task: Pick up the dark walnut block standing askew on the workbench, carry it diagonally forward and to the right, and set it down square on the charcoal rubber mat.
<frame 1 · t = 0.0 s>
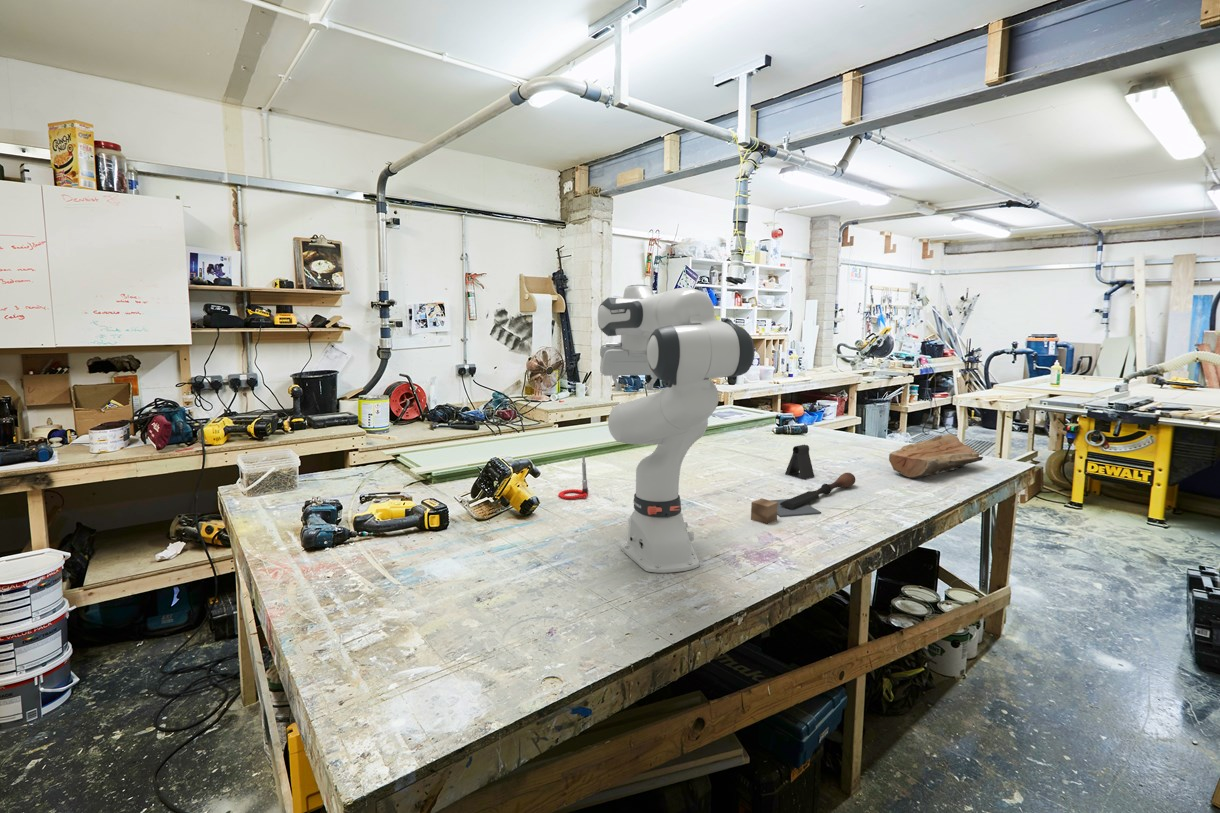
hand: (634, 389, 165), 39 cm above the workbench, fingers open, 8 cm apart
charcoal mat: (788, 507, 180), on the workbench
log: (936, 472, 225), on the workbench
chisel: (820, 496, 192), on the workbench, touching charcoal mat
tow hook: (573, 496, 192), on the workbench
phone stand: (799, 476, 217), on the workbench
walnut block: (763, 520, 170), on the workbench
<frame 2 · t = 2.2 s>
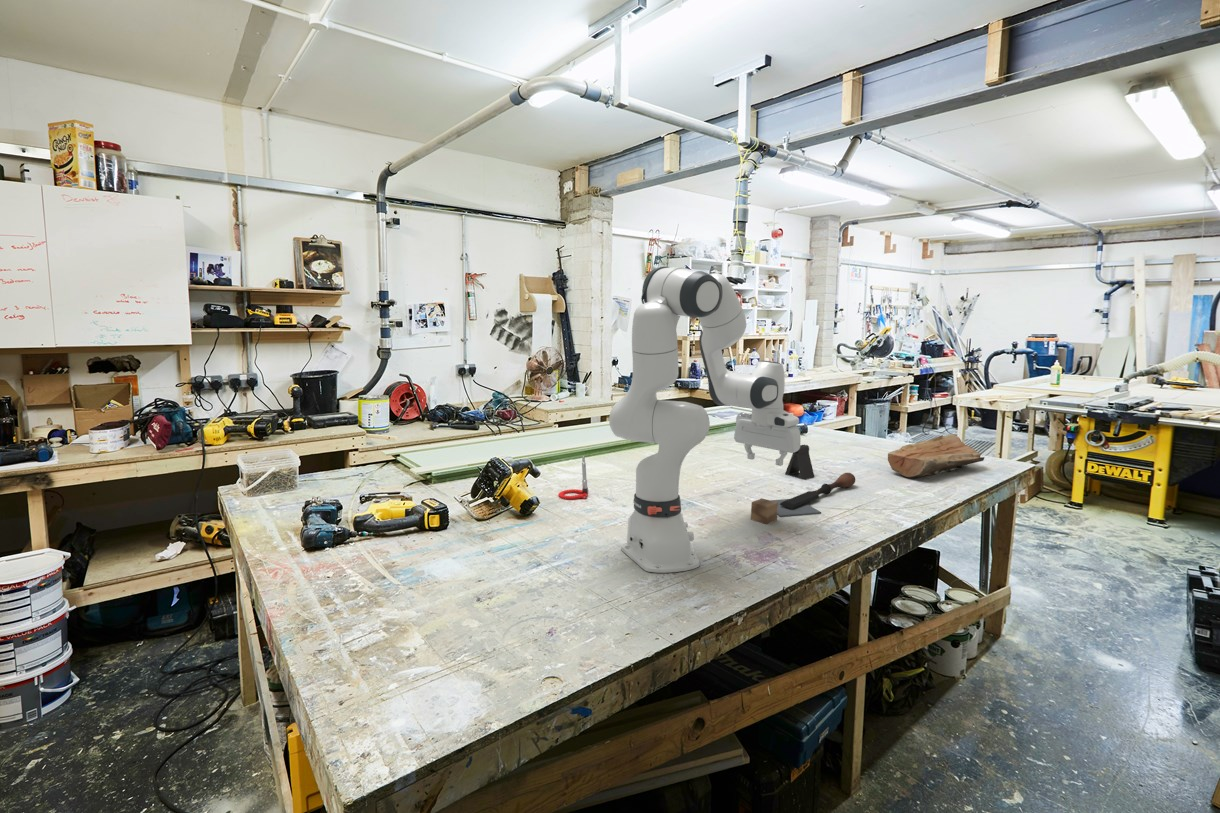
hand: (764, 461, 168), 18 cm above the workbench, fingers open, 8 cm apart
nothing on the workbench moved.
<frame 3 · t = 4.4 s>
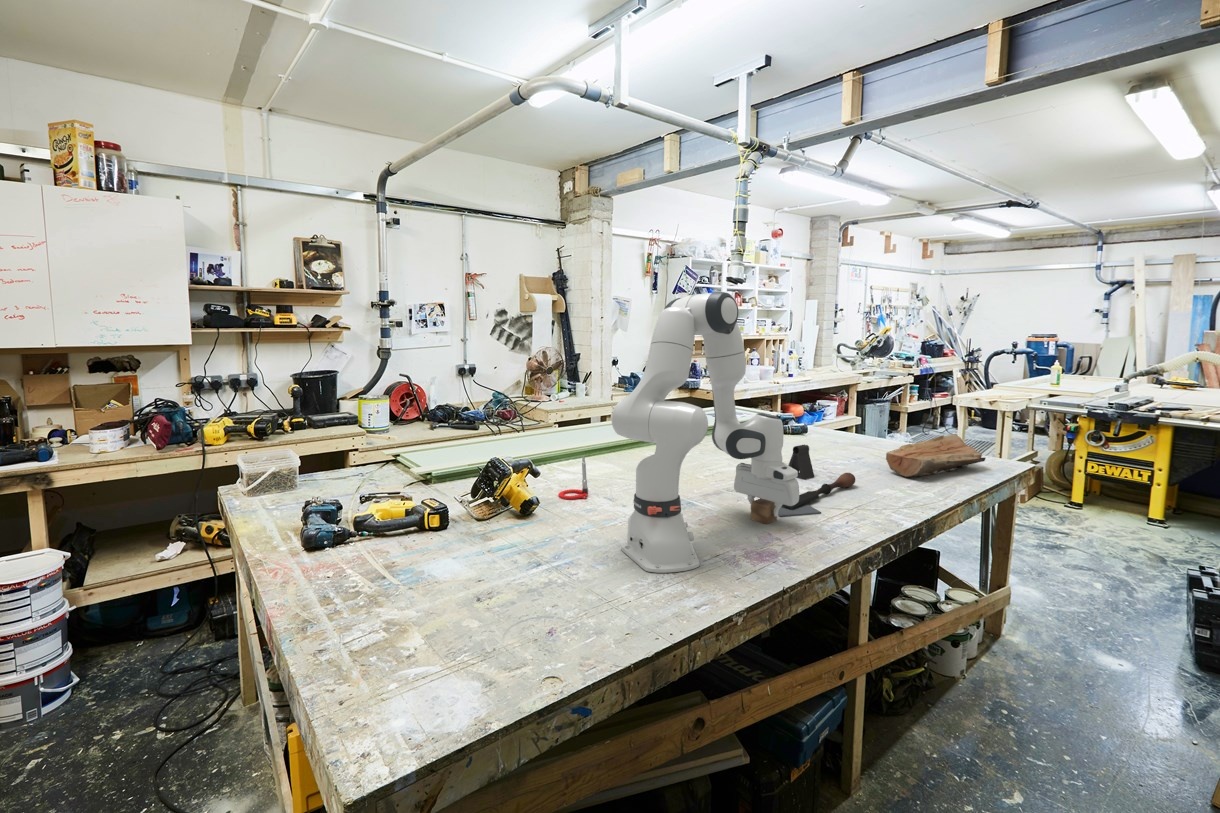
hand: (764, 512, 169), 2 cm above the workbench, fingers closed on walnut block, 5 cm apart
walnut block: (763, 519, 170), on the workbench, touching gripper
everything else where it was.
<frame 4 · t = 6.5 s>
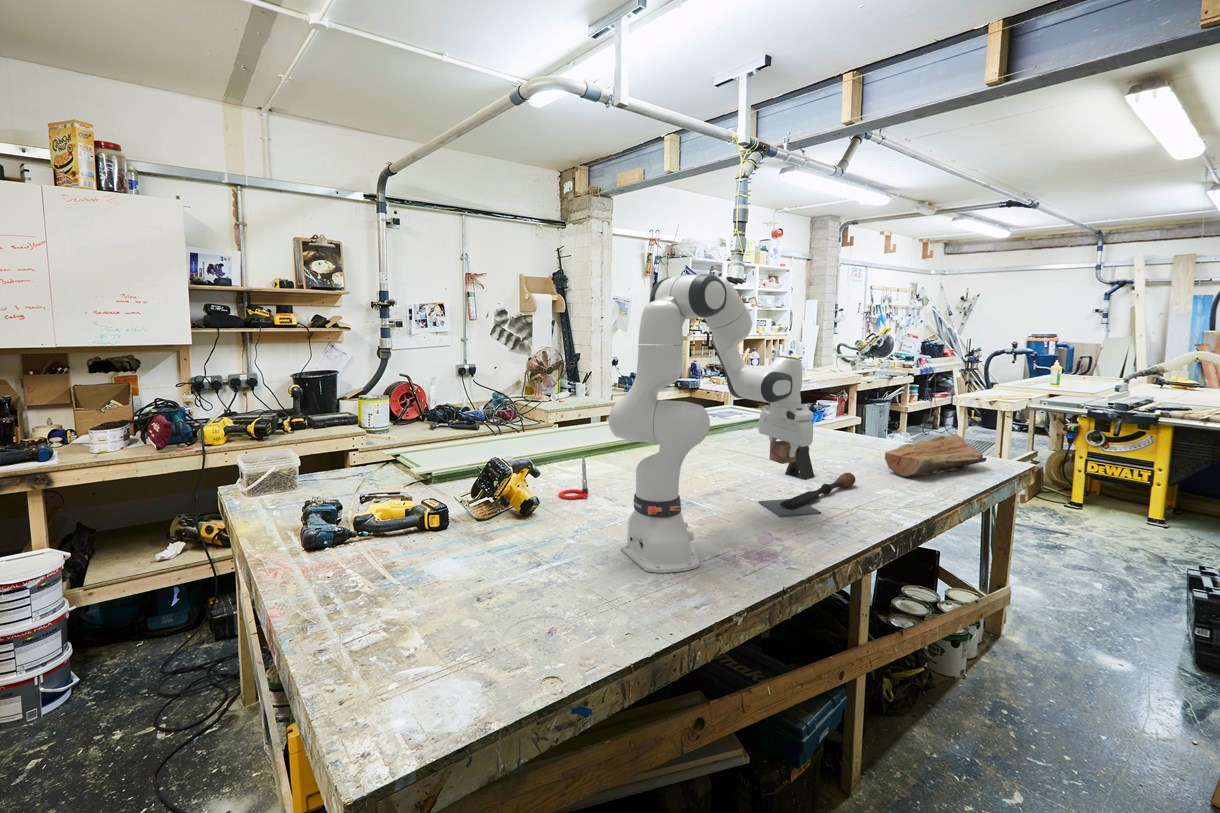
hand: (782, 453, 173), 19 cm above the workbench, fingers closed on walnut block, 5 cm apart
walnut block: (782, 460, 174), point 17 cm above the workbench, touching gripper
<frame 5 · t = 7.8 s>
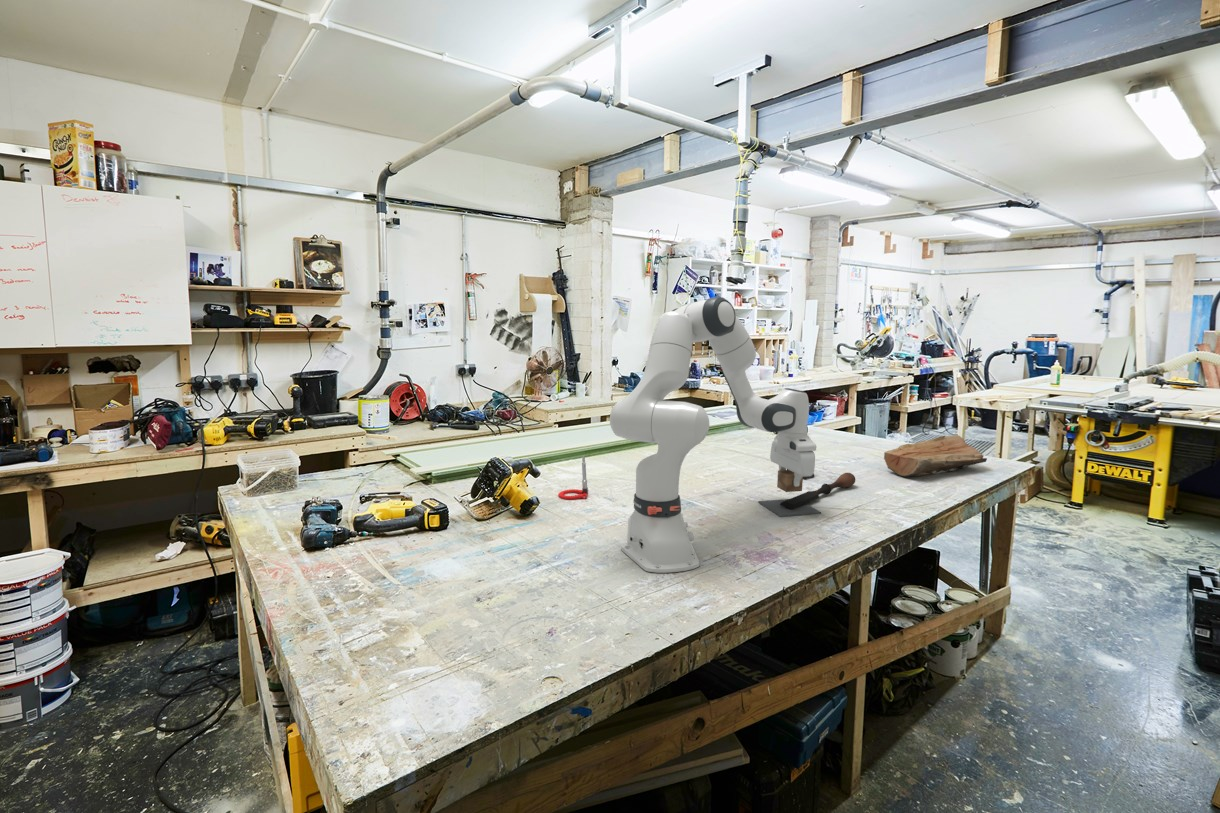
hand: (789, 482, 179), 8 cm above the workbench, fingers closed on walnut block, 5 cm apart
walnut block: (789, 489, 180), point 6 cm above the workbench, touching gripper
when the fingers open (4 cm above the workbench, at t = 9.1 s): walnut block stays where it is, resting on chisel.
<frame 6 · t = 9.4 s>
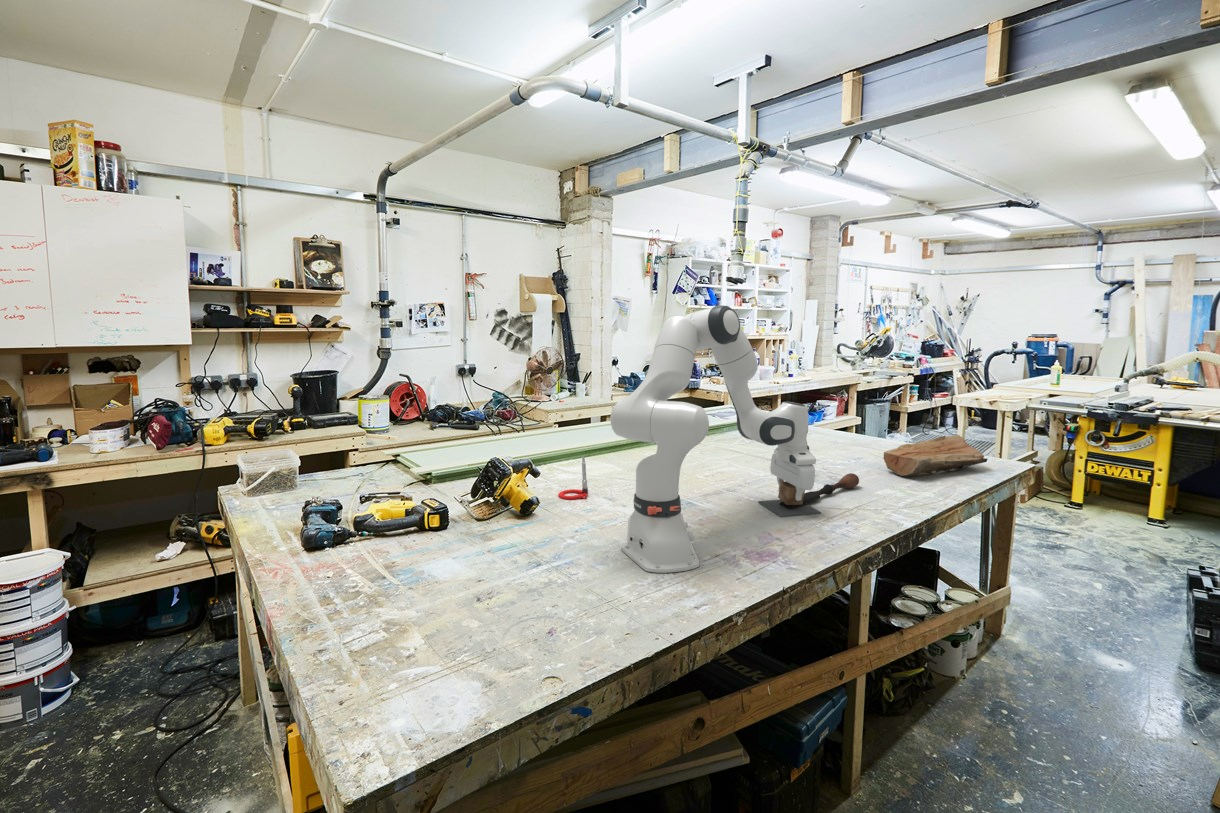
hand: (789, 495, 180), 4 cm above the workbench, fingers open, 8 cm apart
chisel: (822, 496, 191), on the workbench, touching charcoal mat, walnut block
walnut block: (789, 500, 180), point 2 cm above the workbench, tilted 8°, touching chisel
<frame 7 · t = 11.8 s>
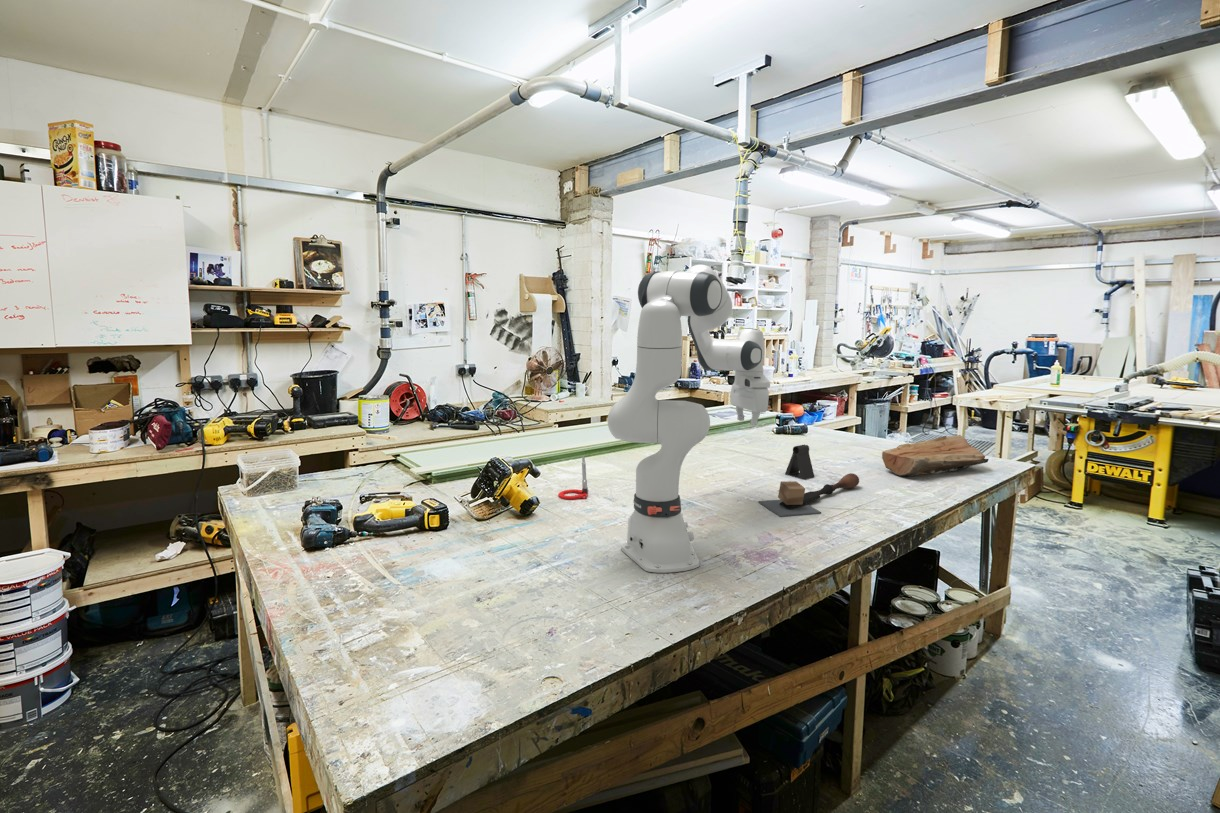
hand: (747, 422, 182), 26 cm above the workbench, fingers open, 8 cm apart
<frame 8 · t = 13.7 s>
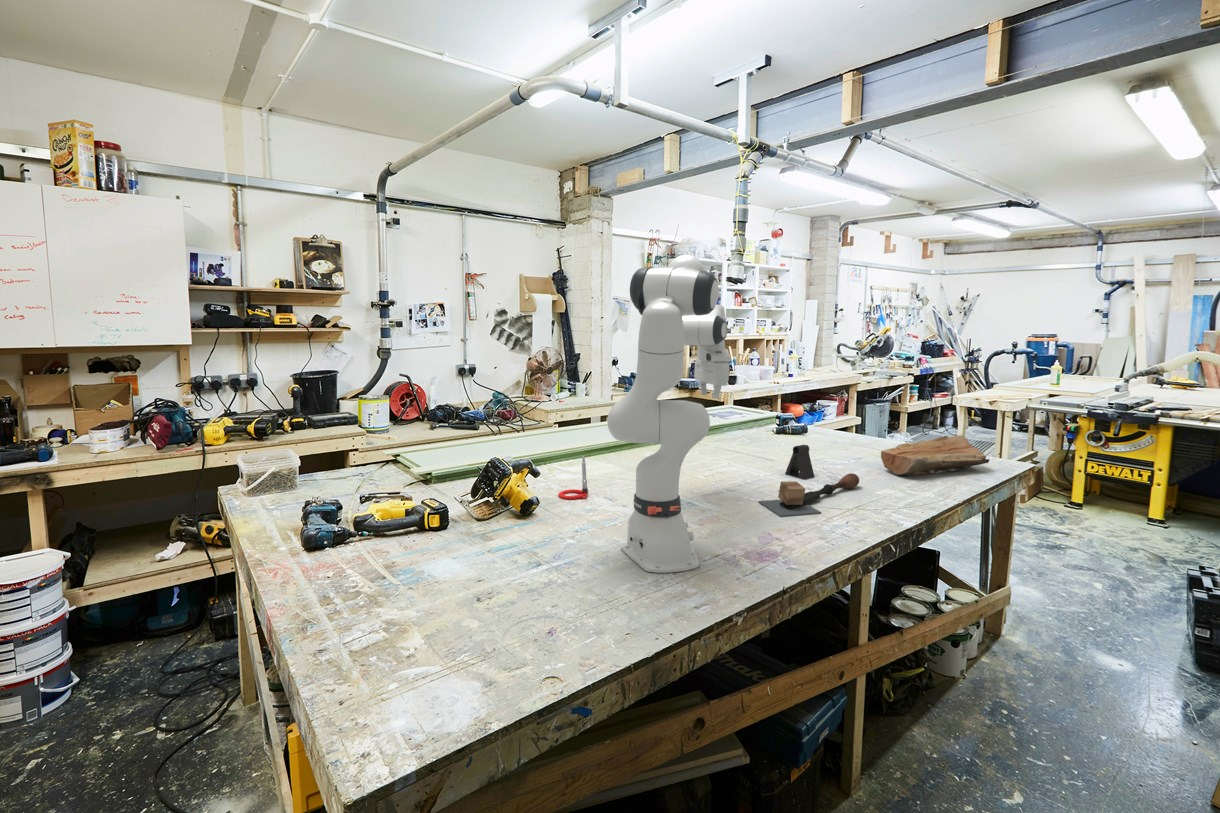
hand: (709, 396, 187), 34 cm above the workbench, fingers open, 8 cm apart
at the end: walnut block inside the target area on the charcoal mat (0.3 cm from its centre), point 2.3 cm above the charcoal mat's base; walnut block tilted 8°; the gripper is holding nothing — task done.
